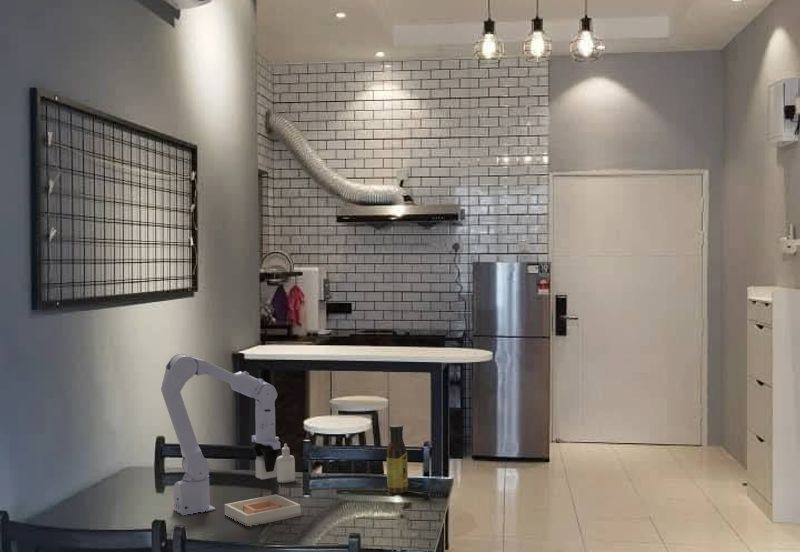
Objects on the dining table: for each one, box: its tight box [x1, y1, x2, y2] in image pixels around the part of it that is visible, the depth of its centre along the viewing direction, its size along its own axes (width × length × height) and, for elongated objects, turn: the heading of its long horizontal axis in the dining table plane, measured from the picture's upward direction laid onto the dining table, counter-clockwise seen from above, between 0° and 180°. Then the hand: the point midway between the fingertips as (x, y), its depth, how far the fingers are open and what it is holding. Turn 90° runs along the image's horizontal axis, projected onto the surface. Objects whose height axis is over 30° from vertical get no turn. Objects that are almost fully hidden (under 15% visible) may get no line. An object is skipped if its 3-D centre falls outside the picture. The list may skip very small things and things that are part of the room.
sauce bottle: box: [386, 424, 409, 495], centre depth 252 cm, size 7×6×20 cm
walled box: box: [224, 494, 302, 527], centre depth 230 cm, size 16×14×3 cm
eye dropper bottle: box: [276, 443, 296, 484], centre depth 267 cm, size 4×6×12 cm
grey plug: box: [254, 455, 277, 480], centre depth 245 cm, size 5×4×6 cm
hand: (266, 470), depth 245 cm, fingers closed on grey plug, 4 cm apart
